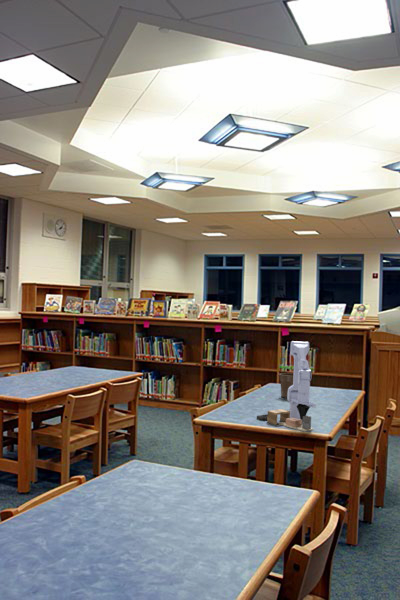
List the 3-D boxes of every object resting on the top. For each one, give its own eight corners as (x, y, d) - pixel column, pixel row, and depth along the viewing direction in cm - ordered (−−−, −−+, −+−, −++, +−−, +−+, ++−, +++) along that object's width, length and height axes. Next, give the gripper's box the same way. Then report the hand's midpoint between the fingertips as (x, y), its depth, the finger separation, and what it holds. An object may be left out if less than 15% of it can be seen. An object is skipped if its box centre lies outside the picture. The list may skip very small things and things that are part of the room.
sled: (287, 422, 280) (287, 409, 280) (313, 429, 266) (313, 416, 266) (278, 424, 275) (278, 411, 275) (304, 431, 262) (304, 417, 262)
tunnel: (281, 420, 286) (281, 409, 286) (289, 422, 281) (290, 411, 281) (267, 422, 278) (267, 410, 278) (275, 424, 274) (276, 413, 274)
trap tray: (267, 417, 292) (268, 414, 292) (274, 419, 288) (274, 415, 288) (256, 418, 286) (256, 415, 286) (263, 420, 282) (263, 417, 282)
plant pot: (277, 394, 374) (278, 372, 374) (300, 396, 372) (301, 373, 372) (278, 398, 358) (279, 375, 358) (301, 400, 355) (303, 376, 356)
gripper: (287, 391, 270) (286, 417, 270) (310, 395, 259) (308, 422, 259) (296, 390, 275) (295, 416, 275) (318, 394, 264) (317, 421, 263)
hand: (302, 419), depth 267 cm, fingers closed
